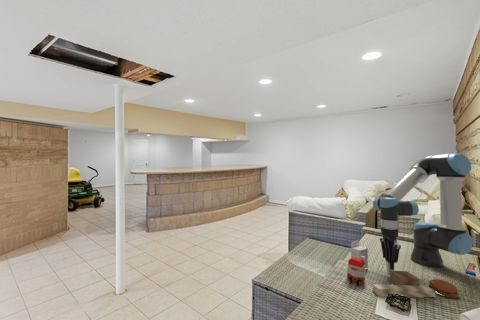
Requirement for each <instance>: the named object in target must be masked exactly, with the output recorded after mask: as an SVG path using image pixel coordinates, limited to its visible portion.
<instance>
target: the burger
mask: <svg viewBox="0 0 480 320" xmlns="http://www.w3.org/2000/svg"><path fill="white" fill-rule="evenodd" d="M427 286H429V287H430V288H432V289H433V290H435V291H437V292H438V293H440V294H442V295H445V296H444V297H446V296H448V297H447V298H449V297H451V299H457V298H459V293H458V292H459V290H458V288H457V287H456V286H455V284H453V283H451V282H449V281H447V280H443V279H434V278H433V279H431V280H429V283H428V285H427Z"/></svg>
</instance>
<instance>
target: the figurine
mask: <svg viewBox="0 0 480 320" xmlns="http://www.w3.org/2000/svg"><path fill="white" fill-rule="evenodd" d="M365 260H366V257H365V256H361V259H358V258H354V257H352V258H351V257H350V258H349V259H348V263H347V266H348V267H347V273H346V274H347V275H346V278H347V280H348V281H349V284H356V286H358V287H359V286H362V285H363V284H364V283H365V281H366V275H367V274H366V273H367V272H366V271H367V270H366V269H365V262H364V261H365Z"/></svg>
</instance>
